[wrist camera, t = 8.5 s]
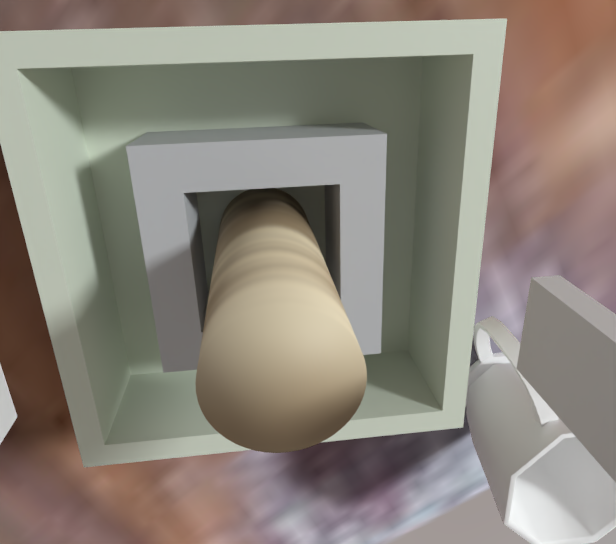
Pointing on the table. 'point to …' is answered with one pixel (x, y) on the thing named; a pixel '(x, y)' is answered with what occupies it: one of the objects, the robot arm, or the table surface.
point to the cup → (532, 452)
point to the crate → (241, 177)
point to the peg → (275, 332)
